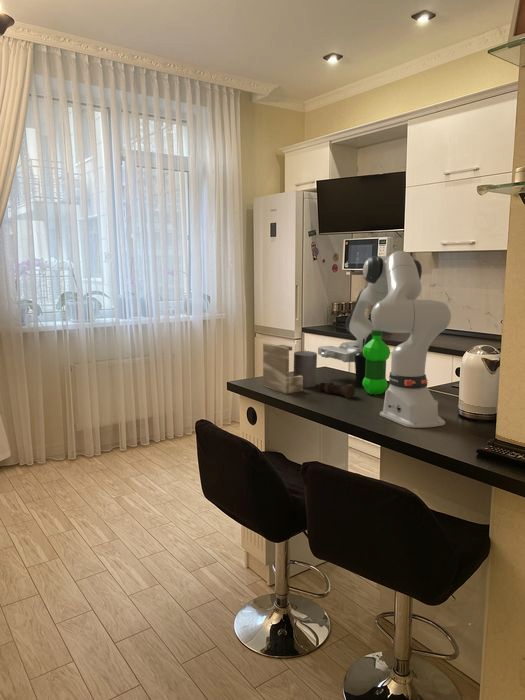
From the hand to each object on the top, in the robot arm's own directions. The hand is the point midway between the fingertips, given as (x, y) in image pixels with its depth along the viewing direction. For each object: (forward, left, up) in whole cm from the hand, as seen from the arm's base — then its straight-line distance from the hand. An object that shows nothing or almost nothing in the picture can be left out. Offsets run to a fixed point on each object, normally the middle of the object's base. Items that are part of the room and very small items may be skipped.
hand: (323, 355), depth 229 cm
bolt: (-21, +2, -12) cm, 24 cm away
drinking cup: (-11, -13, -12) cm, 21 cm away
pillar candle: (-4, +9, -12) cm, 15 cm away
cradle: (-8, +20, -12) cm, 24 cm away
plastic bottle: (-23, -13, -12) cm, 29 cm away
